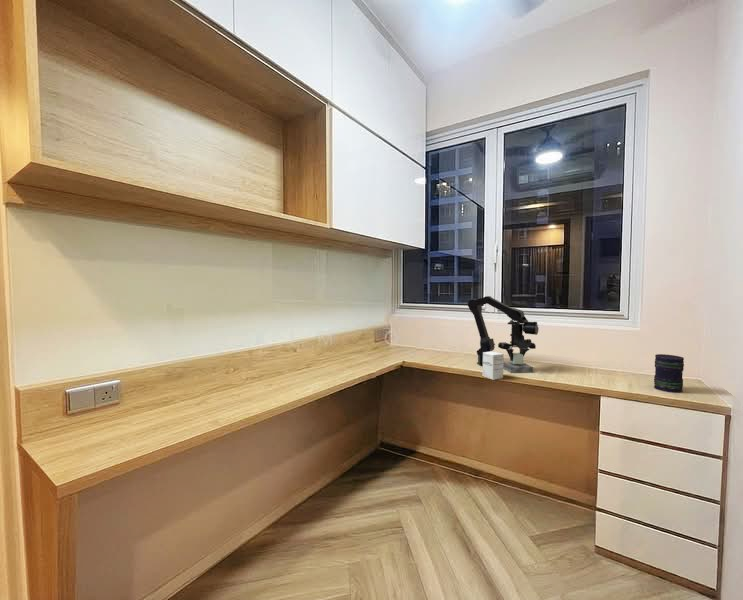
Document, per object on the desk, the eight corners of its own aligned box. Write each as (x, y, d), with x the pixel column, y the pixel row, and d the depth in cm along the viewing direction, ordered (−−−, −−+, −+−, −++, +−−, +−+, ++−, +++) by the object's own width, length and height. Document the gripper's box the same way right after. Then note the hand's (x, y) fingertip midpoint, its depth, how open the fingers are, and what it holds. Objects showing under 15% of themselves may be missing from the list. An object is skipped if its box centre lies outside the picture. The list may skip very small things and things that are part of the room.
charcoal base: (510, 373, 180) (511, 367, 180) (500, 367, 192) (501, 362, 192) (532, 372, 181) (532, 367, 181) (521, 367, 193) (521, 361, 193)
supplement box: (481, 376, 174) (482, 352, 174) (492, 374, 177) (493, 350, 177) (492, 380, 168) (493, 354, 167) (503, 378, 171) (504, 353, 170)
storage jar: (669, 386, 157) (671, 354, 156) (689, 393, 147) (690, 359, 146) (647, 386, 157) (649, 354, 156) (665, 392, 147) (667, 359, 146)
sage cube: (514, 364, 184) (514, 354, 183) (509, 361, 189) (510, 353, 188) (523, 363, 184) (523, 354, 184) (518, 361, 189) (518, 352, 189)
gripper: (507, 335, 177) (506, 364, 178) (541, 334, 178) (541, 364, 179) (498, 332, 188) (497, 360, 189) (530, 331, 189) (529, 359, 190)
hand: (516, 361), depth 186 cm, fingers closed on sage cube, 5 cm apart
